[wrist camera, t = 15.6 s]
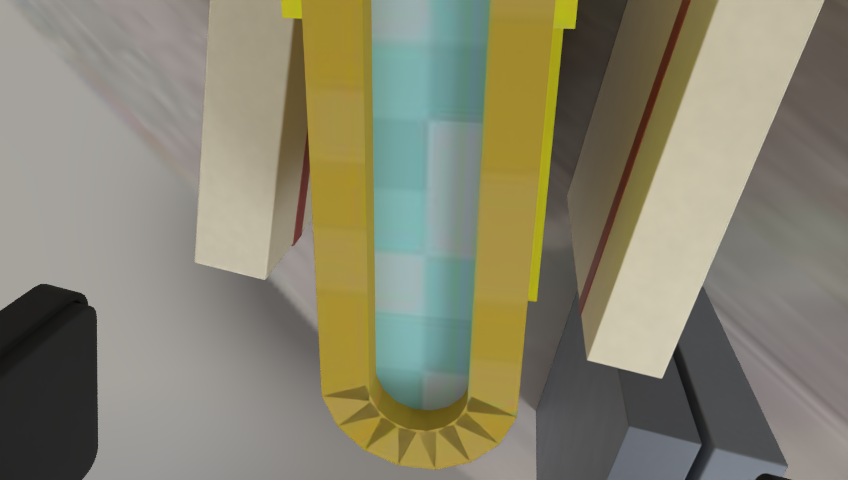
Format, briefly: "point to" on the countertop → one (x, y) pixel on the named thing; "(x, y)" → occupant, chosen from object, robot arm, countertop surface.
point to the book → (428, 211)
